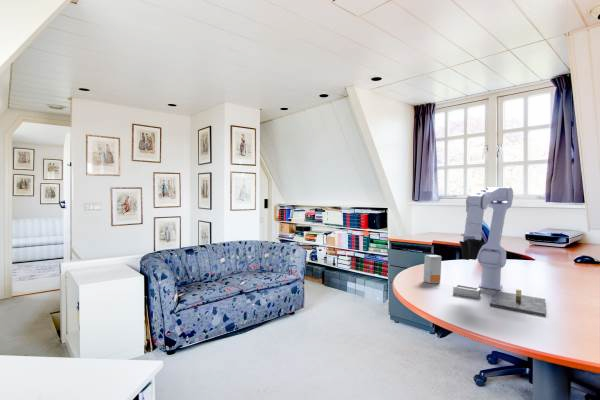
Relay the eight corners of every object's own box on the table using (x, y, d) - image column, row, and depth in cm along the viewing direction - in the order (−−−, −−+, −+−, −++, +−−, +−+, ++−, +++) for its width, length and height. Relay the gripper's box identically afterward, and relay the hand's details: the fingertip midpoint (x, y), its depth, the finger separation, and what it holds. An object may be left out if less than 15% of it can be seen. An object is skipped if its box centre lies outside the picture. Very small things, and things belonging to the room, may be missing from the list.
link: (453, 294, 132) (453, 286, 132) (455, 291, 136) (456, 284, 136) (478, 298, 126) (478, 291, 126) (480, 295, 130) (480, 288, 130)
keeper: (496, 293, 135) (496, 280, 134) (545, 301, 125) (545, 288, 125) (489, 305, 118) (490, 292, 118) (545, 316, 109) (546, 301, 109)
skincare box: (429, 283, 146) (430, 256, 146) (423, 281, 151) (424, 254, 150) (440, 283, 148) (441, 256, 148) (434, 280, 152) (435, 254, 152)
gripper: (457, 224, 136) (452, 257, 135) (469, 220, 122) (464, 257, 120) (475, 228, 135) (471, 261, 133) (489, 224, 121) (484, 261, 119)
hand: (469, 259), depth 127 cm, fingers open, 7 cm apart
